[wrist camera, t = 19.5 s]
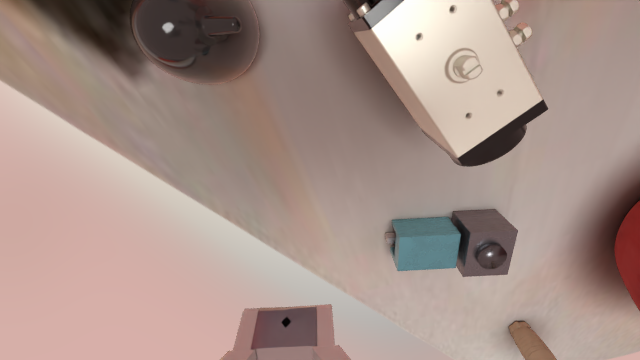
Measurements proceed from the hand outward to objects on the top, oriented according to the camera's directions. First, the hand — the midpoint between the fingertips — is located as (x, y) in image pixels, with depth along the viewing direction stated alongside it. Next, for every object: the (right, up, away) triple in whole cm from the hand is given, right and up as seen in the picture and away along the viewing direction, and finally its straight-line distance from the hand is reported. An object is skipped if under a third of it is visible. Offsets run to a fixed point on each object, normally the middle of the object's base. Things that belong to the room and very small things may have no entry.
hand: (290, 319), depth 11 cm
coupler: (+18, -3, +36) cm, 40 cm away
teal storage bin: (+15, -3, +36) cm, 39 cm away
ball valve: (+11, +20, +26) cm, 34 cm away
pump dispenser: (-10, +21, +25) cm, 34 cm away
